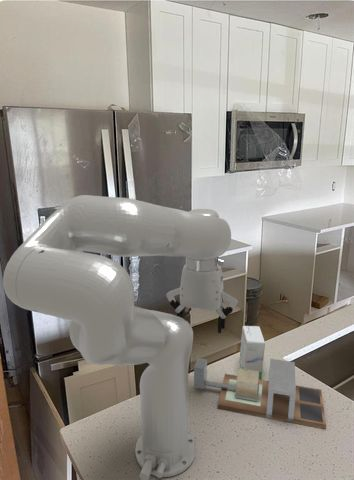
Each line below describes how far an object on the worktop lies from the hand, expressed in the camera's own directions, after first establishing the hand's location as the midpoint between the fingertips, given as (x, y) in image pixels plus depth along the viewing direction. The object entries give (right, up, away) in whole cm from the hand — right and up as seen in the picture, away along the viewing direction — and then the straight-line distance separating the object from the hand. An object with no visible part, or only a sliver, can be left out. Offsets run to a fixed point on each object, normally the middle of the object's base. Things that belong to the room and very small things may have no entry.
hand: (200, 327), depth 91 cm
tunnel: (+19, -18, 0) cm, 27 cm away
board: (+17, -18, +1) cm, 25 cm away
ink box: (+15, -15, +12) cm, 25 cm away
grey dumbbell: (+7, -16, +3) cm, 18 cm away
